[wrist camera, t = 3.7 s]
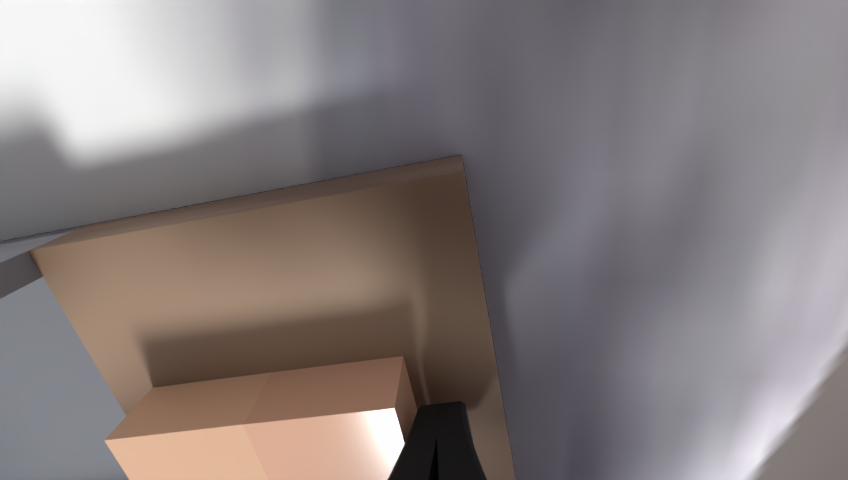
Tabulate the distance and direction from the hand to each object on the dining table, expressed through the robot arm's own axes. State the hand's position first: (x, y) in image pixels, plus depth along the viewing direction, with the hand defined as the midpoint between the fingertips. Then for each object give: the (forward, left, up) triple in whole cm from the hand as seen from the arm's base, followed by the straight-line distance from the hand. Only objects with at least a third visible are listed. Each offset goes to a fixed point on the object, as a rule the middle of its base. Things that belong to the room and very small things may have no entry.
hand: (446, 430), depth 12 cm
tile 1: (0, +3, -1) cm, 3 cm away
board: (0, +4, -3) cm, 5 cm away
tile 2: (0, +7, -1) cm, 7 cm away
